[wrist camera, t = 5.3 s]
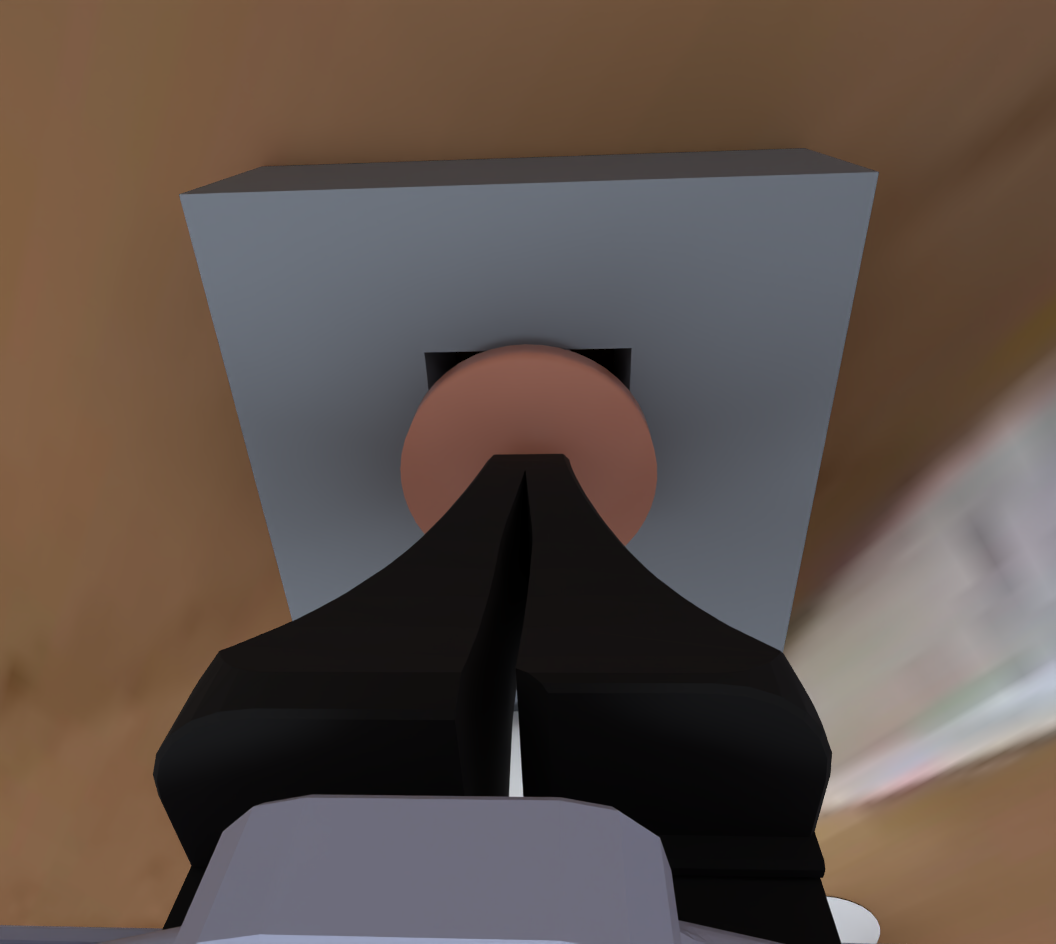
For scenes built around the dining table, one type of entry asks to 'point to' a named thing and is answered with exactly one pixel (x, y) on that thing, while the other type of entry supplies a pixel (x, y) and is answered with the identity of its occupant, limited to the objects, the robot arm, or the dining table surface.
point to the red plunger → (531, 432)
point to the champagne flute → (853, 922)
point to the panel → (541, 339)
